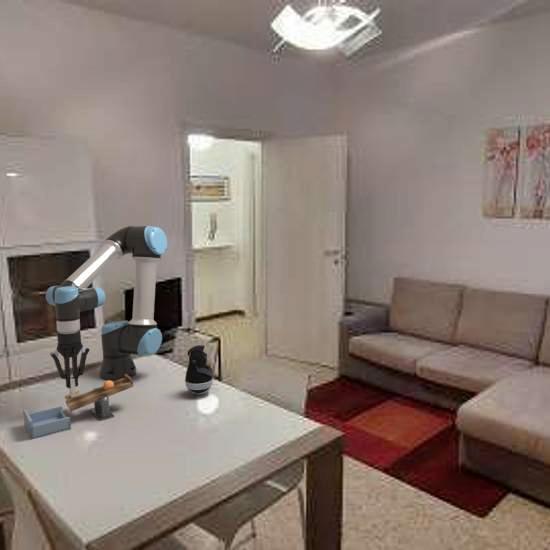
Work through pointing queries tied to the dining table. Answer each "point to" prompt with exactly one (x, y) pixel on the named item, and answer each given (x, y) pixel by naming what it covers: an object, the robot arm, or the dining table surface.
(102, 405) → the stand
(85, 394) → the lever
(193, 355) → the toy
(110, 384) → the ball
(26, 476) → the dining table surface
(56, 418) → the tray
